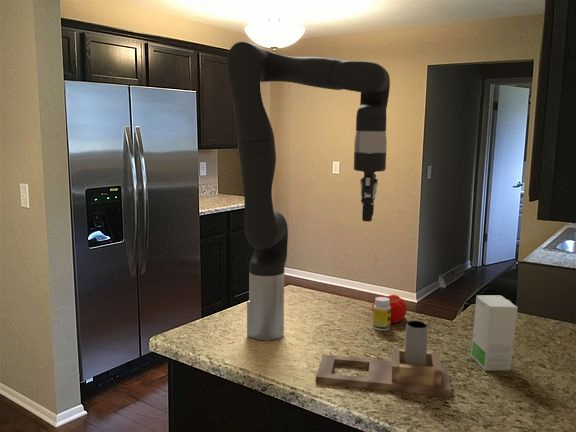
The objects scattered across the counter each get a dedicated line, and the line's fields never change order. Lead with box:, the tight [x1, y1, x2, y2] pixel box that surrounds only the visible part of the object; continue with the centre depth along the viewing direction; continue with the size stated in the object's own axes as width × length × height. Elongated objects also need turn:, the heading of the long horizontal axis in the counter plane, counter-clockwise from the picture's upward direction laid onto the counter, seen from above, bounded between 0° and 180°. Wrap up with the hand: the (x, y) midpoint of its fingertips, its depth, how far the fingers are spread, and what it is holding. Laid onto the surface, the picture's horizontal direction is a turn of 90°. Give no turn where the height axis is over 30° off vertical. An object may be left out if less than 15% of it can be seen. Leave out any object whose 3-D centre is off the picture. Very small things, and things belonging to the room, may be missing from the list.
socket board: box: [315, 347, 452, 398], centre depth 116 cm, size 28×12×5 cm, turn 79°
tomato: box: [371, 294, 408, 324], centre depth 153 cm, size 10×11×6 cm
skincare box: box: [470, 294, 519, 372], centre depth 123 cm, size 8×7×16 cm
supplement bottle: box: [372, 296, 391, 332], centre depth 146 cm, size 5×5×8 cm
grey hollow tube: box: [404, 320, 429, 366], centre depth 114 cm, size 4×4×10 cm
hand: (367, 218), depth 127 cm, fingers open, 8 cm apart
